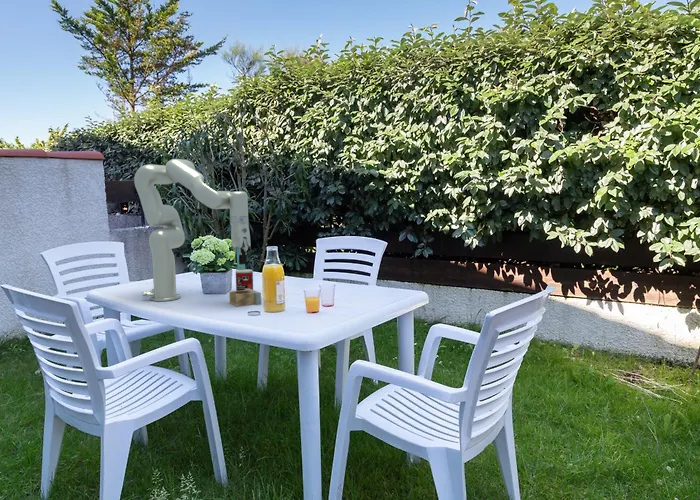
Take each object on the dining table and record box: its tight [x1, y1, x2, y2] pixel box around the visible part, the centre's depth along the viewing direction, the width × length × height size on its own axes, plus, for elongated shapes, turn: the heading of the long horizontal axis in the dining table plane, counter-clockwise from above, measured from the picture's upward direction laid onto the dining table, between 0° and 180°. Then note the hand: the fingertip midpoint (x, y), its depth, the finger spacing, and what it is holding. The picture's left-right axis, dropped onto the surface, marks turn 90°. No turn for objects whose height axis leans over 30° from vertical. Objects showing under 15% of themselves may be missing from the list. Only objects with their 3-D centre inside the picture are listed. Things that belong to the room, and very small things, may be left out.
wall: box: [245, 289, 262, 306], centre depth 214 cm, size 2×12×5 cm, turn 36°
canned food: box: [235, 268, 254, 291], centre depth 232 cm, size 8×8×11 cm
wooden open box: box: [229, 290, 256, 307], centre depth 211 cm, size 8×8×5 cm
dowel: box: [236, 246, 246, 271], centre depth 209 cm, size 3×3×10 cm
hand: (240, 263), depth 209 cm, fingers closed on dowel, 3 cm apart
